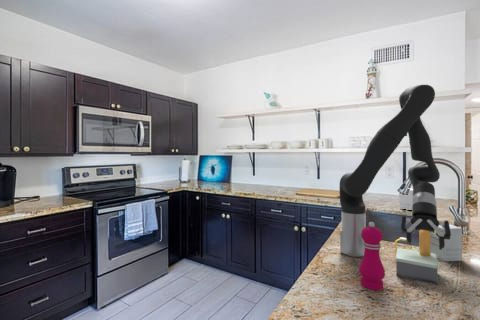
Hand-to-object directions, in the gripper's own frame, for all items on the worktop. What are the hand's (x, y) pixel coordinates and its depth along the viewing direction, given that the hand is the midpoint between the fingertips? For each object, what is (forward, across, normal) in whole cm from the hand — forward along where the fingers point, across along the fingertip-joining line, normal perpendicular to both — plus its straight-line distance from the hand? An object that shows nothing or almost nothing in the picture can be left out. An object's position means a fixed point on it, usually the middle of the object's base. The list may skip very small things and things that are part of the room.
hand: (425, 246), depth 89 cm
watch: (-6, -7, +20) cm, 22 cm away
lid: (+5, -2, +2) cm, 6 cm away
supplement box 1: (-74, -7, +88) cm, 115 cm away
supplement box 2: (-8, +7, +21) cm, 23 cm away
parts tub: (+8, -3, +5) cm, 10 cm away
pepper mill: (+20, -14, -7) cm, 25 cm away
